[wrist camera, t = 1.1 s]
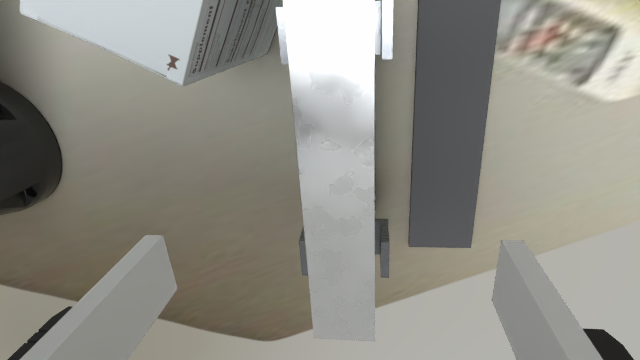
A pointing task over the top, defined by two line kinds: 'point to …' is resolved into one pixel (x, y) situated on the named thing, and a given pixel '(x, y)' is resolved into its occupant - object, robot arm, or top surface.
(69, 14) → the supplement box
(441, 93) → the mat
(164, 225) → the top surface
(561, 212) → the top surface
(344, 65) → the rail
